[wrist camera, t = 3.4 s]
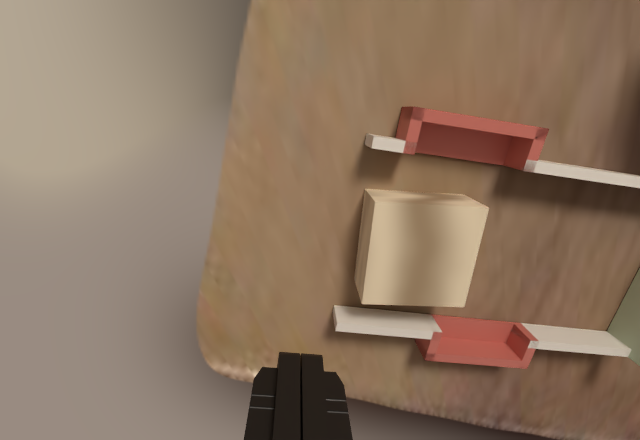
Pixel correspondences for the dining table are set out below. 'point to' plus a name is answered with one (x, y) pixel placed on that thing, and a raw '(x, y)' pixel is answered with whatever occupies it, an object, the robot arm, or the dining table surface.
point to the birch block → (417, 247)
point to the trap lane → (477, 334)
